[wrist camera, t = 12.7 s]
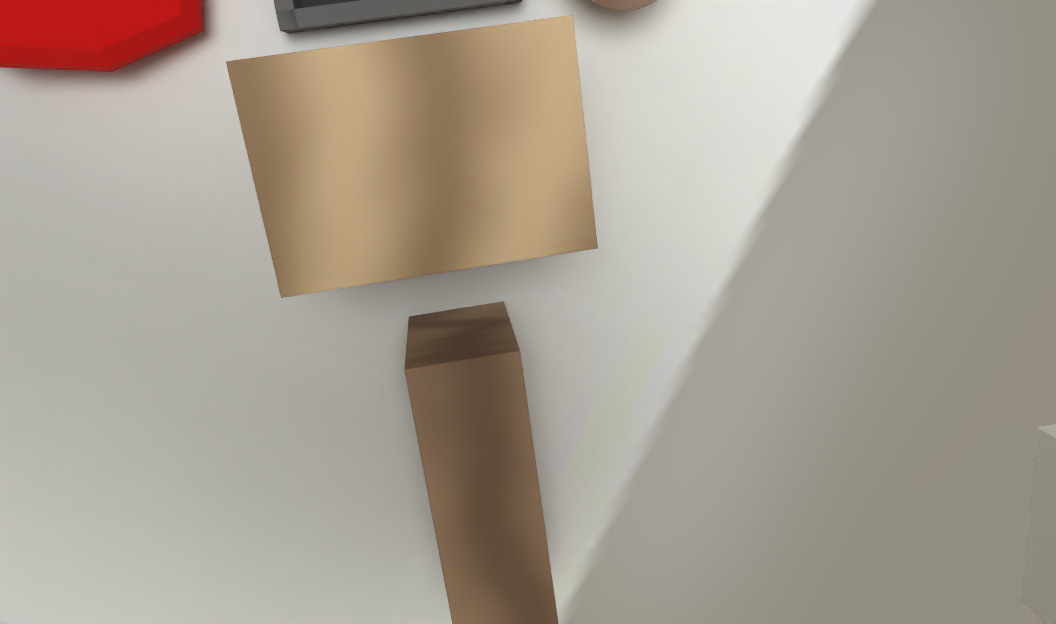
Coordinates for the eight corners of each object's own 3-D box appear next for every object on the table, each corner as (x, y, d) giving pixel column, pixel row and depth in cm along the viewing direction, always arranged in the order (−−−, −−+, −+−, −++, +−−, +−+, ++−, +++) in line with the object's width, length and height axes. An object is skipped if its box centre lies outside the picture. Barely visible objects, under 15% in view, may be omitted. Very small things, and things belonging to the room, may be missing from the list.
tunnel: (325, 233, 39) (281, 297, 28) (289, 66, 37) (226, 61, 25) (549, 199, 40) (597, 248, 29) (528, 34, 38) (572, 15, 26)
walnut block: (453, 560, 46) (458, 656, 38) (409, 316, 41) (404, 369, 34) (538, 544, 46) (560, 637, 39) (503, 301, 42) (519, 350, 34)
